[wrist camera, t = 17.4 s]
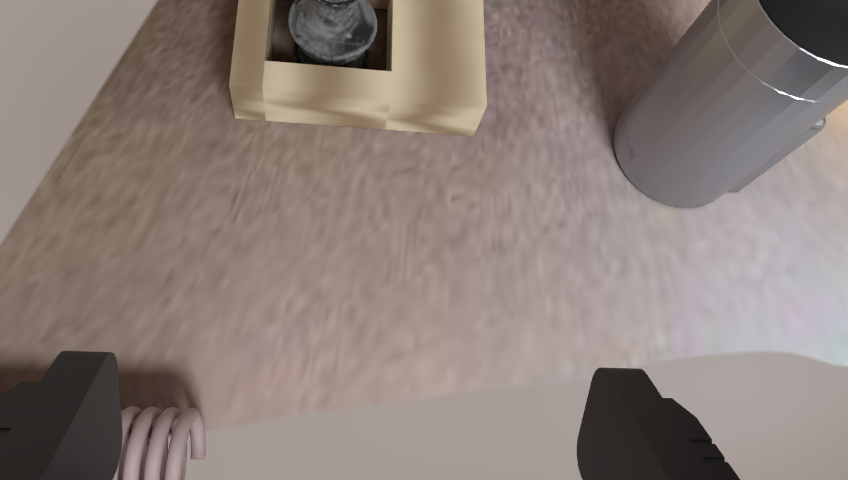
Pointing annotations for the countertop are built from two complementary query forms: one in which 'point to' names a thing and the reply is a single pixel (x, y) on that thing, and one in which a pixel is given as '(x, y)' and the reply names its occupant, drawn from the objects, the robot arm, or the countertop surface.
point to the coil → (159, 443)
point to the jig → (370, 72)
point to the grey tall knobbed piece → (332, 32)
